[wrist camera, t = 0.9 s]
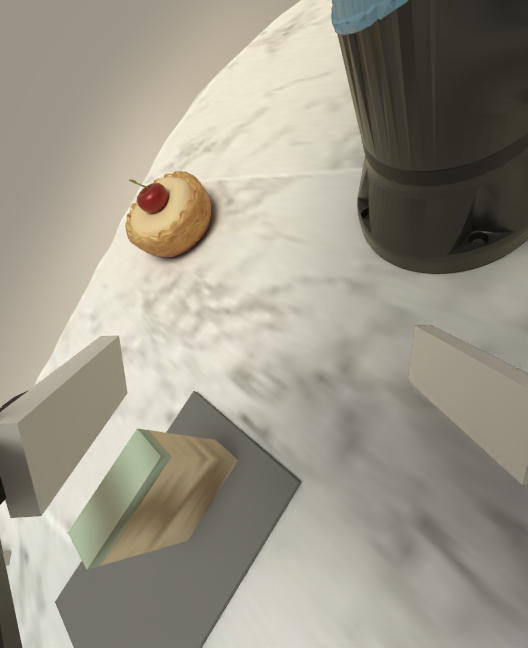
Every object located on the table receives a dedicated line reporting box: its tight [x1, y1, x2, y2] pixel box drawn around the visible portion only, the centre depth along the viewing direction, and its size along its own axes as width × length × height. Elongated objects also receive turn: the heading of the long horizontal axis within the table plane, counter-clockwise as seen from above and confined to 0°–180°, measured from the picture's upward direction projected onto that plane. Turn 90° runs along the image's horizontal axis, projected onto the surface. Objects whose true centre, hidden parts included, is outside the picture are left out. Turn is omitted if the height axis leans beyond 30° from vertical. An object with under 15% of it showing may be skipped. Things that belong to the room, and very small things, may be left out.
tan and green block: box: [68, 429, 238, 570], centre depth 25 cm, size 8×3×10 cm, turn 143°
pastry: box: [126, 172, 211, 257], centre depth 42 cm, size 12×12×9 cm
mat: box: [55, 391, 301, 648], centre depth 29 cm, size 24×14×1 cm, turn 143°
